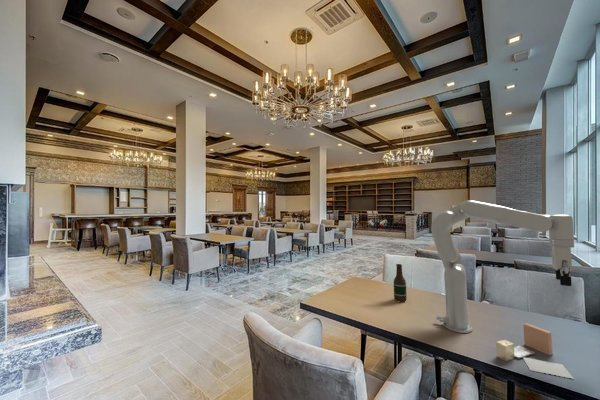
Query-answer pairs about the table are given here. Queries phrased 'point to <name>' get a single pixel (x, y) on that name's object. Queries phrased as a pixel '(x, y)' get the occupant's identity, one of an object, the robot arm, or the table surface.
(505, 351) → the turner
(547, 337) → the tile
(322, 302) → the table surface
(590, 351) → the table surface
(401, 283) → the beer bottle
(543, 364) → the mat
